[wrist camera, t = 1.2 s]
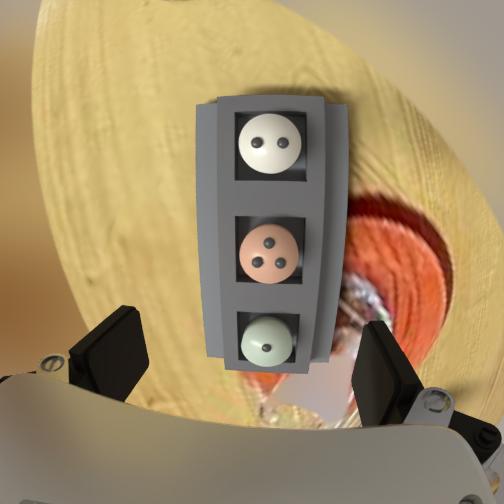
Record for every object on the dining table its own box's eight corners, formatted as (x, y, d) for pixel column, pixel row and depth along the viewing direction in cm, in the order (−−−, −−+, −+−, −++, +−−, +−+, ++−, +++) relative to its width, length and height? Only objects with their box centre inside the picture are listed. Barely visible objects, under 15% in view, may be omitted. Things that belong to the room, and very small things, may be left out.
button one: (243, 314, 26) (240, 325, 24) (293, 316, 26) (293, 328, 24) (244, 353, 28) (241, 366, 25) (290, 355, 27) (290, 368, 25)
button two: (242, 119, 21) (238, 113, 19) (299, 119, 21) (300, 113, 19) (242, 173, 23) (238, 173, 21) (299, 174, 22) (301, 174, 20)
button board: (200, 108, 24) (189, 99, 21) (343, 108, 23) (352, 99, 19) (210, 349, 31) (202, 367, 28) (326, 354, 30) (330, 373, 27)
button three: (242, 222, 24) (238, 226, 22) (298, 223, 23) (300, 227, 21) (243, 274, 25) (239, 283, 23) (296, 275, 25) (297, 285, 22)
